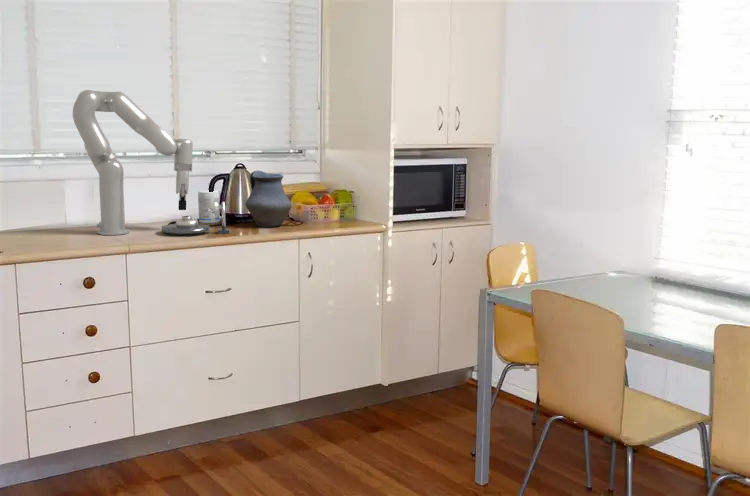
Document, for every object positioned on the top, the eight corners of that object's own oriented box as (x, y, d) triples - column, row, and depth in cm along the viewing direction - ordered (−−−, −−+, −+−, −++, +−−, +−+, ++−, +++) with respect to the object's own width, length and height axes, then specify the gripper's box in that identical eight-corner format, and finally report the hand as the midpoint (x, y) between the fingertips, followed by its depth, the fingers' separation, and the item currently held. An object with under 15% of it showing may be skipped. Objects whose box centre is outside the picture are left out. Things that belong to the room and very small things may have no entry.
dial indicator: (230, 232, 331) (229, 201, 328) (229, 233, 326) (228, 202, 324) (209, 232, 330) (208, 201, 327) (208, 233, 325) (207, 202, 323)
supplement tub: (213, 220, 365) (213, 189, 363) (223, 222, 358) (222, 191, 356) (195, 221, 359) (194, 190, 357) (204, 224, 352) (203, 192, 349)
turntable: (151, 231, 322) (151, 227, 322) (185, 225, 339) (185, 221, 339) (186, 235, 313) (186, 231, 312) (219, 229, 330) (219, 225, 329)
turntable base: (168, 233, 324) (168, 231, 324) (185, 230, 333) (185, 228, 333) (186, 235, 320) (186, 233, 319) (202, 232, 328) (202, 230, 328)
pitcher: (266, 230, 336) (265, 174, 331) (234, 225, 350) (233, 171, 345) (300, 226, 351) (300, 171, 347) (268, 221, 365) (268, 169, 361)
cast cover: (171, 227, 323) (171, 216, 322) (186, 224, 331) (185, 214, 330) (188, 229, 319) (187, 218, 318) (202, 226, 327) (202, 215, 326)
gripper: (174, 166, 336) (173, 207, 339) (174, 168, 322) (173, 211, 325) (191, 167, 338) (190, 208, 341) (192, 169, 324) (191, 212, 327)
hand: (182, 209), depth 333 cm, fingers closed
